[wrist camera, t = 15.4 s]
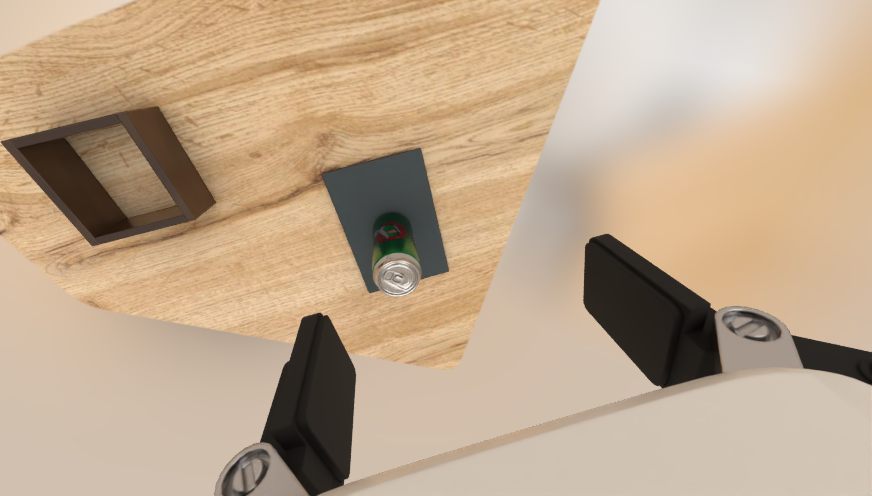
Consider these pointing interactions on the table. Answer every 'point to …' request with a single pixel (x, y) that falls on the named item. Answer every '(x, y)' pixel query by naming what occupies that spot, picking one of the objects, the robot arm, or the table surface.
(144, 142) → the frame
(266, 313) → the table surface
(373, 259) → the soda can
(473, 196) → the table surface
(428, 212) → the mat
